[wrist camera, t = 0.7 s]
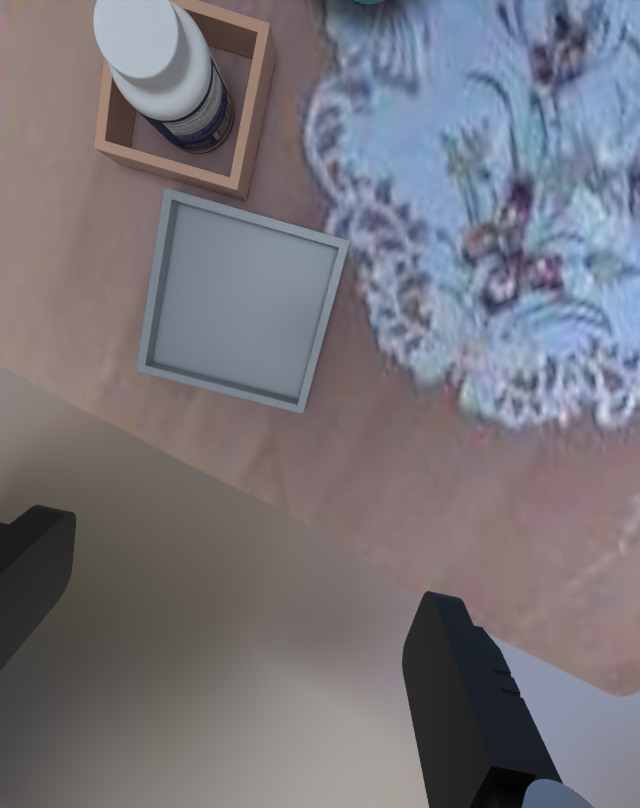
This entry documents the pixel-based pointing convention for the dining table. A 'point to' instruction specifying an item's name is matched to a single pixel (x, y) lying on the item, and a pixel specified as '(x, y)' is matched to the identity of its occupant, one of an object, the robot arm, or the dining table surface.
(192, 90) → the pill bottle
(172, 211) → the tray
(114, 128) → the holder
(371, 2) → the cupcake
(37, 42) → the dining table surface
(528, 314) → the dining table surface
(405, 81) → the dining table surface
